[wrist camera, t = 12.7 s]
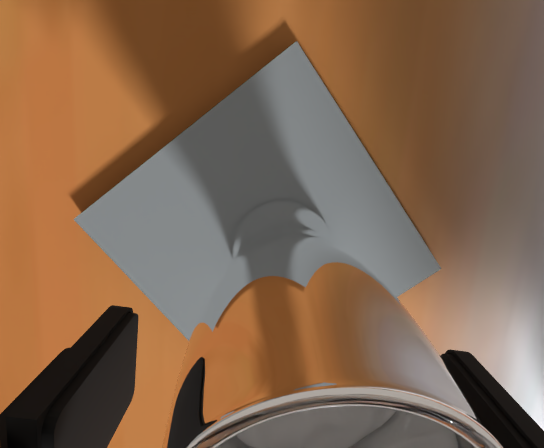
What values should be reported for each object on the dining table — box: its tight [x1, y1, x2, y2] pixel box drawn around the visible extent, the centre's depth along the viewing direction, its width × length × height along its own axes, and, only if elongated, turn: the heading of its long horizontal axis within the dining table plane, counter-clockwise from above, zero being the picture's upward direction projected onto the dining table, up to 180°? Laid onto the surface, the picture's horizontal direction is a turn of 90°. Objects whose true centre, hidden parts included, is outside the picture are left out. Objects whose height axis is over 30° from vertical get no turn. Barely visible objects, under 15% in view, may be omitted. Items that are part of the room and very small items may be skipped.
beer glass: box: [162, 200, 503, 448], centre depth 13 cm, size 7×7×15 cm
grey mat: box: [74, 41, 441, 340], centre depth 20 cm, size 16×16×1 cm
